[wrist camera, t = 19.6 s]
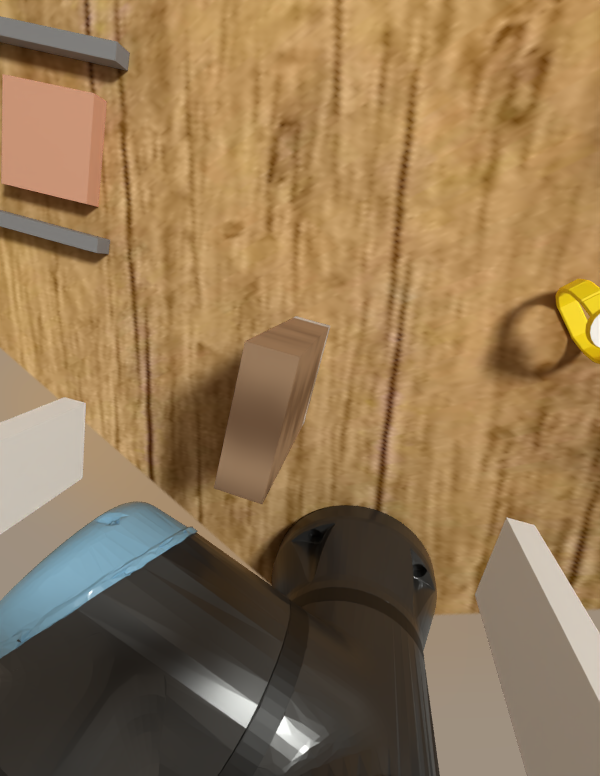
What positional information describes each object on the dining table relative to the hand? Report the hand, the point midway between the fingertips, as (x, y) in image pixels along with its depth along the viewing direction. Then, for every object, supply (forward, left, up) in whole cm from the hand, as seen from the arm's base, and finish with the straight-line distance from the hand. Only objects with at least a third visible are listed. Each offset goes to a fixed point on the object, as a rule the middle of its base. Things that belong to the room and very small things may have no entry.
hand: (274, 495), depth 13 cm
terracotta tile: (+10, +28, -24) cm, 38 cm away
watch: (+7, -16, -24) cm, 30 cm away
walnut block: (-2, +3, -24) cm, 24 cm away
